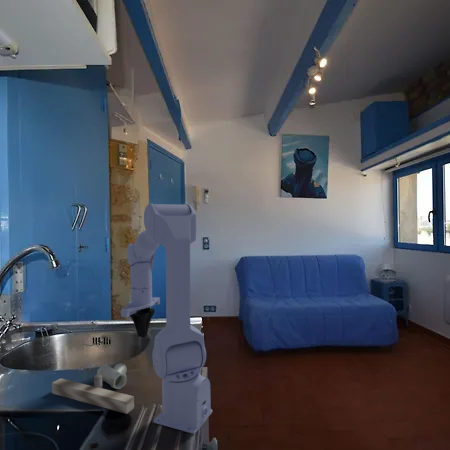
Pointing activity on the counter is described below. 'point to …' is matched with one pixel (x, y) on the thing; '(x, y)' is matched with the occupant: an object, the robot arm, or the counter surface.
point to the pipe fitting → (113, 375)
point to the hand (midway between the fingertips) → (142, 336)
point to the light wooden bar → (94, 394)
